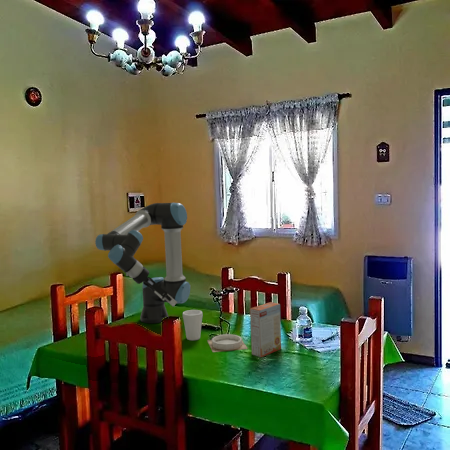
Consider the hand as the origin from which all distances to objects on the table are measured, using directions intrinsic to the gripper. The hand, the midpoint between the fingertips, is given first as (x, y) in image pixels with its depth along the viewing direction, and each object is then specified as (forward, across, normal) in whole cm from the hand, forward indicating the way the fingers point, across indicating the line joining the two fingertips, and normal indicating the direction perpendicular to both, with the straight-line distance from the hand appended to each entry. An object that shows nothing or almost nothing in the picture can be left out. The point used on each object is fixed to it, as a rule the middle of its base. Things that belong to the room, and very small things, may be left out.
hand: (170, 301), depth 217 cm
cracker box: (+37, +32, +9) cm, 50 cm away
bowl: (+29, +16, +1) cm, 33 cm away
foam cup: (+22, -1, -6) cm, 23 cm away
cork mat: (+29, +16, +1) cm, 33 cm away
